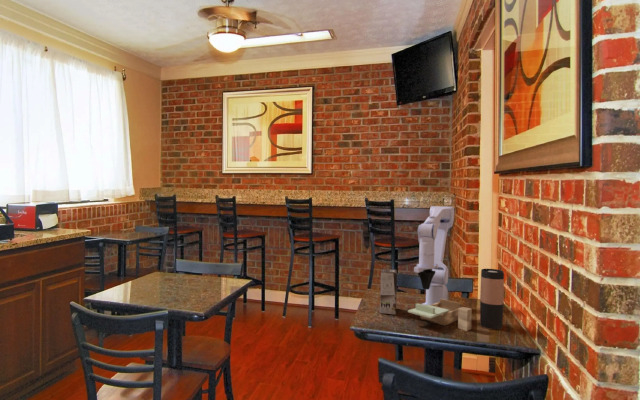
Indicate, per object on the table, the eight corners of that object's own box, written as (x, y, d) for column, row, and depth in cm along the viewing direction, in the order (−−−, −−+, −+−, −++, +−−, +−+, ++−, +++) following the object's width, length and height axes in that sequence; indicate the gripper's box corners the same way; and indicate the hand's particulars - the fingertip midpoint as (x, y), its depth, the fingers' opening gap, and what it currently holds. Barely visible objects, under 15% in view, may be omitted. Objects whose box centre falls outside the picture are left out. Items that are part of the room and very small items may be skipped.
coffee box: (396, 314, 146) (397, 273, 146) (379, 313, 147) (380, 272, 147) (396, 308, 155) (397, 269, 155) (380, 307, 156) (381, 268, 156)
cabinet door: (426, 305, 144) (426, 299, 144) (449, 311, 137) (449, 304, 137) (407, 312, 135) (407, 304, 135) (430, 318, 128) (431, 310, 128)
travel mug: (474, 323, 137) (476, 269, 137) (490, 321, 140) (491, 268, 140) (491, 330, 130) (493, 273, 130) (507, 328, 133) (509, 271, 133)
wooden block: (462, 326, 134) (462, 306, 134) (471, 328, 132) (471, 308, 132) (457, 328, 132) (458, 308, 132) (466, 330, 129) (467, 310, 130)
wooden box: (439, 311, 151) (439, 298, 151) (462, 318, 144) (463, 303, 144) (420, 318, 142) (420, 304, 142) (444, 325, 134) (445, 310, 134)
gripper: (427, 251, 156) (426, 284, 156) (407, 254, 146) (406, 289, 146) (443, 253, 151) (442, 287, 151) (423, 256, 141) (422, 293, 141)
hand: (425, 288), depth 148 cm, fingers closed
